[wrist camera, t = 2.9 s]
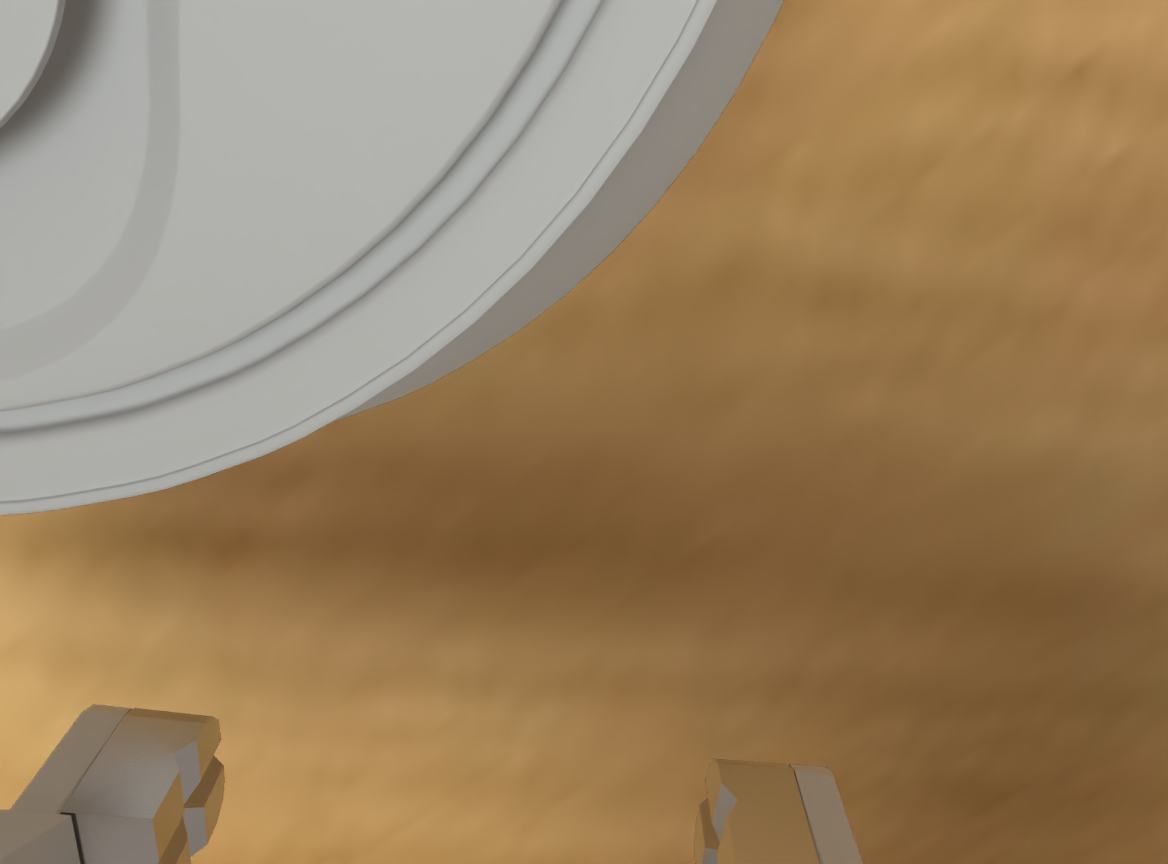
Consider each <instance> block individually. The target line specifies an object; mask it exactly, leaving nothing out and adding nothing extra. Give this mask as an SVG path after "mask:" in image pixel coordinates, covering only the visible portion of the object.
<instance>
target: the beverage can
mask: <svg viewBox="0 0 1168 864" xmlns="http://www.w3.org/2000/svg"><path fill="white" fill-rule="evenodd" d="M783 1H784V0H0V515H13V514H29V513H37V512H44V511H52V510H59V509H65V508H71V507H77V506H83V505H89V504H95V503H100V502H106V501H112V500H118V499H124V498H129V497H134V496H138V495H143V494H148V493H152V492H157V491H161V490H165V489H169V488H172V487H175V486H178V485H181V484H184V483H188V482H191V481H194V480H197V479H200V478H203V477H206V476H209V475H212V474H214V473H217V472H220V471H223V470H226V469H228V468H231V467H234V466H237V465H239V464H242V463H245V462H248V461H251V460H253V459H256V458H259V457H262V456H265V455H267V454H269V453H272V452H274V451H276V450H278V449H280V448H283V447H285V446H287V445H289V444H291V443H294V442H296V441H298V440H300V439H302V438H304V437H306V436H308V435H310V434H311V433H313V432H315V431H317V430H319V429H321V428H322V427H324V426H326V425H328V424H330V423H331V422H333V421H336V420H340V419H343V418H346V417H349V416H351V415H354V414H357V413H360V412H362V411H365V410H368V409H371V408H374V407H376V406H379V405H382V404H385V403H387V402H390V401H393V400H396V399H398V398H401V397H403V396H405V395H407V394H410V393H412V392H414V391H416V390H418V389H421V388H423V387H425V386H427V385H429V384H431V383H433V382H435V381H437V380H438V379H440V378H442V377H444V376H446V375H447V374H449V373H451V372H453V371H455V370H457V369H458V368H460V367H462V366H464V365H466V364H468V363H469V362H471V361H473V360H474V359H476V358H477V357H479V356H480V355H482V354H484V353H485V352H487V351H488V350H490V349H491V348H493V347H495V346H496V345H498V344H499V343H501V342H502V341H504V340H506V339H507V338H509V337H510V336H512V335H513V334H515V333H516V332H518V331H520V330H521V329H522V328H524V327H525V326H526V325H527V324H529V323H530V322H531V321H533V320H534V319H535V318H536V317H538V316H539V315H540V314H542V313H543V312H544V311H546V310H547V309H548V308H549V307H551V306H552V305H553V304H555V303H556V302H557V301H558V300H560V299H561V298H562V297H564V296H565V295H566V294H567V293H569V292H570V291H571V290H572V289H573V288H574V287H575V286H576V285H577V284H578V283H579V282H580V281H582V280H583V279H584V278H585V277H586V276H587V275H588V274H589V273H590V272H591V271H592V270H594V269H595V268H596V267H597V266H598V265H599V264H600V263H601V262H602V261H603V260H604V259H605V258H607V257H608V256H609V255H610V254H611V253H612V252H613V251H614V250H615V249H616V248H617V247H618V245H619V244H620V243H621V242H622V241H623V240H624V239H625V238H626V237H627V236H628V235H629V233H630V232H631V231H632V230H633V229H634V228H635V227H636V226H637V225H638V224H639V222H640V221H641V220H642V219H643V218H644V217H645V216H646V215H647V214H648V213H649V212H650V210H651V209H652V208H653V207H654V206H655V205H656V204H657V203H658V201H659V200H660V199H661V197H662V196H663V195H664V194H665V192H666V191H667V190H668V188H669V187H670V186H671V184H672V183H673V182H674V181H675V179H676V178H677V177H678V175H679V174H680V173H681V171H682V170H683V169H684V168H685V166H686V165H687V164H688V162H689V161H690V160H691V158H692V157H693V156H694V155H695V153H696V152H697V151H698V149H699V148H700V146H701V145H702V143H703V142H704V140H705V139H706V137H707V135H708V134H709V132H710V131H711V129H712V128H713V126H714V125H715V123H716V122H717V120H718V118H719V117H720V115H721V114H722V112H723V111H724V109H725V108H726V106H727V105H728V103H729V101H730V100H731V98H732V97H733V95H734V94H735V92H736V91H737V89H738V87H739V86H740V84H741V82H742V80H743V78H744V76H745V75H746V73H747V71H748V69H749V67H750V65H751V63H752V62H753V60H754V58H755V56H756V54H757V52H758V50H759V49H760V47H761V45H762V43H763V41H764V39H765V38H766V36H767V34H768V32H769V30H770V28H771V26H772V25H773V23H774V21H775V19H776V17H777V14H778V12H779V10H780V8H781V5H782V3H783Z"/></svg>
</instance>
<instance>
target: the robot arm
mask: <svg viewBox="0 0 1168 864" xmlns="http://www.w3.org/2000/svg"><path fill="white" fill-rule="evenodd" d="M220 741H221V733H220V726H219V720H218V719H216V718H214V717H212V716H203V715H194V714H185V713H176V712H167V711H158V710H149V709H140V708H134V709H132V708H123V707H114V706H105V705H96V704H93V705H92V706H90V707H89V708H87V709H86V710H84V711H83V712H82V713H81V714H80V715H79V716H78V718H77V719H76V720H75V722H74V723H73V725H72V726H71V727H70V729H69V730H68V731H67V733H66V734H65V735H64V737H63V738H62V739H61V741H60V742H59V744H58V745H57V746H56V748H55V749H54V750H53V752H52V753H51V754H50V756H49V757H48V758H47V760H46V761H45V763H44V764H43V765H42V767H41V768H40V769H39V771H38V772H37V773H36V775H35V776H34V777H33V779H32V780H31V782H30V783H29V784H28V786H27V787H26V788H25V790H24V791H23V792H22V794H21V795H20V797H19V798H18V799H17V801H16V802H15V803H14V805H13V806H12V807H11V809H10V810H1V809H0V864H191V860H190V857H191V856H192V855H194V854H195V853H196V852H198V851H199V850H200V849H202V848H203V847H204V846H206V845H207V844H208V842H209V839H210V837H211V835H212V833H213V830H214V828H215V826H216V823H217V820H218V816H219V812H220V809H221V805H222V801H223V795H224V783H225V777H224V765H223V764H222V763H221V762H220V761H219V760H218V759H217V758H216V757H215V756H214V753H215V751H216V749H217V747H218V745H219V743H220ZM705 781H706V788H707V794H708V798H707V799H706V800H705V801H704V802H702V803H701V804H700V805H699V809H698V814H697V819H696V824H695V837H694V861H695V864H863V861H862V858H861V855H860V852H859V850H858V847H857V844H856V841H855V838H854V835H853V832H852V829H851V826H850V823H849V820H848V817H847V814H846V811H845V808H844V805H843V802H842V799H841V797H840V794H839V791H838V788H837V785H836V782H835V779H834V776H833V773H832V772H831V771H830V770H829V769H828V768H827V767H820V766H807V765H794V764H789V765H786V764H781V763H768V762H754V761H741V760H727V759H714V758H713V759H712V761H711V763H710V765H709V767H708V771H707V775H706V779H705Z"/></svg>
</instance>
